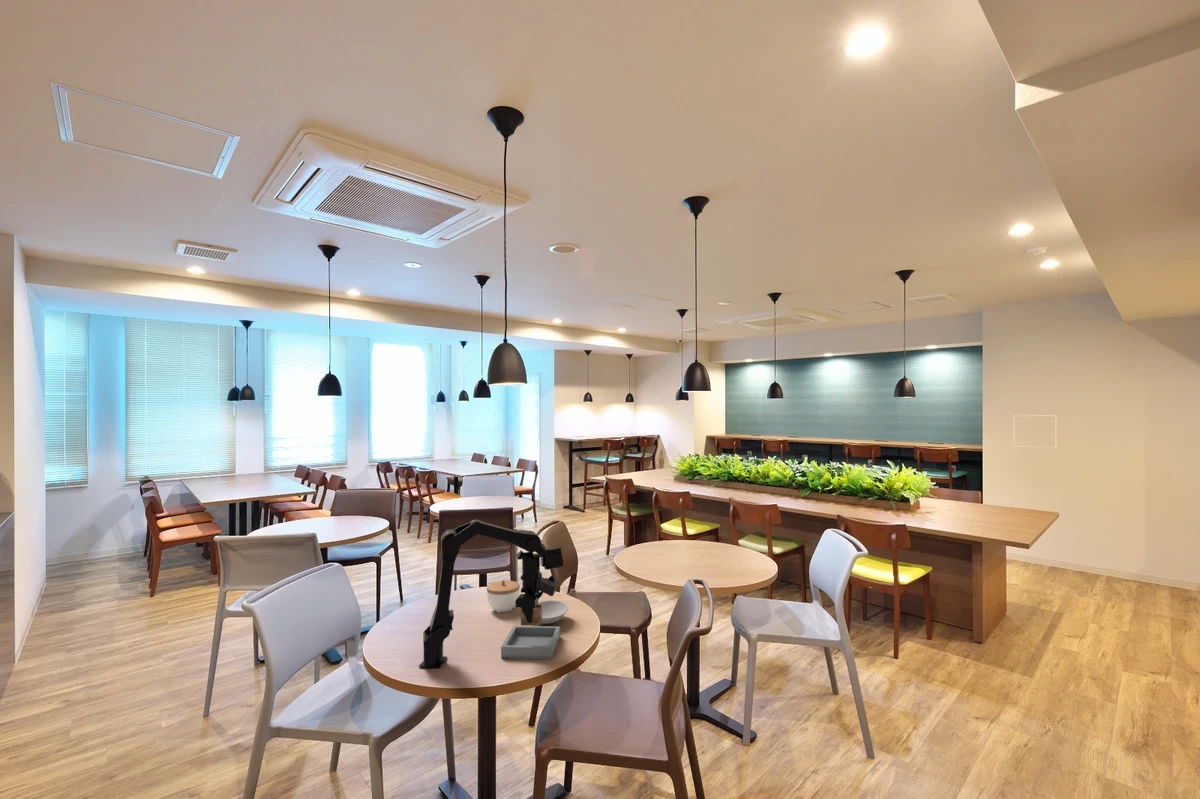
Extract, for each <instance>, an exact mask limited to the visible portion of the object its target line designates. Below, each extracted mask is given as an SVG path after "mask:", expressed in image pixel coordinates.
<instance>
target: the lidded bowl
mask: <svg viewBox="0 0 1200 799" xmlns="http://www.w3.org/2000/svg"><path fill="white" fill-rule="evenodd" d="M520 587H521V586H520V583H519V582H517V581H514V580H504V579H503V580H499V581H494V582H492V583H491V582H490V583H488V585H487V586H486V596H487V601H488V604H489V607H490V608H491V609H492V610H493V611H494V610H495V611H497V612H496V613H498V612H505V613H508V612H507V611H509V612H511V611H513V609H514V608H515V601H516V599H517V598H518V596H519V595H520V589H521V588H520ZM512 608H513V609H512ZM510 610H511V611H510ZM495 611H494V612H495Z"/></svg>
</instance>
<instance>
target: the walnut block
mask: <svg viewBox="0 0 1200 799" xmlns="http://www.w3.org/2000/svg"><path fill="white" fill-rule="evenodd" d="M541 621H542V605H536V606H535V607H534V610H533V617H532V622H531V623H528V621H527V619H526V617H525V615H524V613H523V611H522V609H521V608H520V626H540V625H541V624H542V623H541Z"/></svg>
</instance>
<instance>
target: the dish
mask: <svg viewBox="0 0 1200 799" xmlns="http://www.w3.org/2000/svg"><path fill="white" fill-rule="evenodd" d="M537 605H542V621H541V623H540V624H544V625H545V624H546V625H547V624H553V623H556V622H558V621H559V620H561V619H562V618H563V617H564V616H565V614H566V613H567V612H569V608H570V607H569V605H568V604H567V603H566V602H565V601H563V600H558V599H557V600H556V599H549V600H542V601H538V604H537Z"/></svg>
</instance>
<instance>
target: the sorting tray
mask: <svg viewBox="0 0 1200 799" xmlns="http://www.w3.org/2000/svg"><path fill="white" fill-rule="evenodd" d="M559 638H560V639H561V626H554V625H553V626H549V625H548V626H544V625H543V626H542V625H541V626H540V625H539V626H528V625H513V626H512V628H511V629H510V631H509V633H508V635H507V636H506V638H505V640H504V641H503V643H502V645H501V646H500V650H501V651H500V656H501V658H500V659H505V658H510V659H511V660H515V659H518V660H553V658H554V656H555V653H556V650H557V648H556V647H558V645H557V644H559V641H560V639H559ZM513 658H514V659H513Z"/></svg>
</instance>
